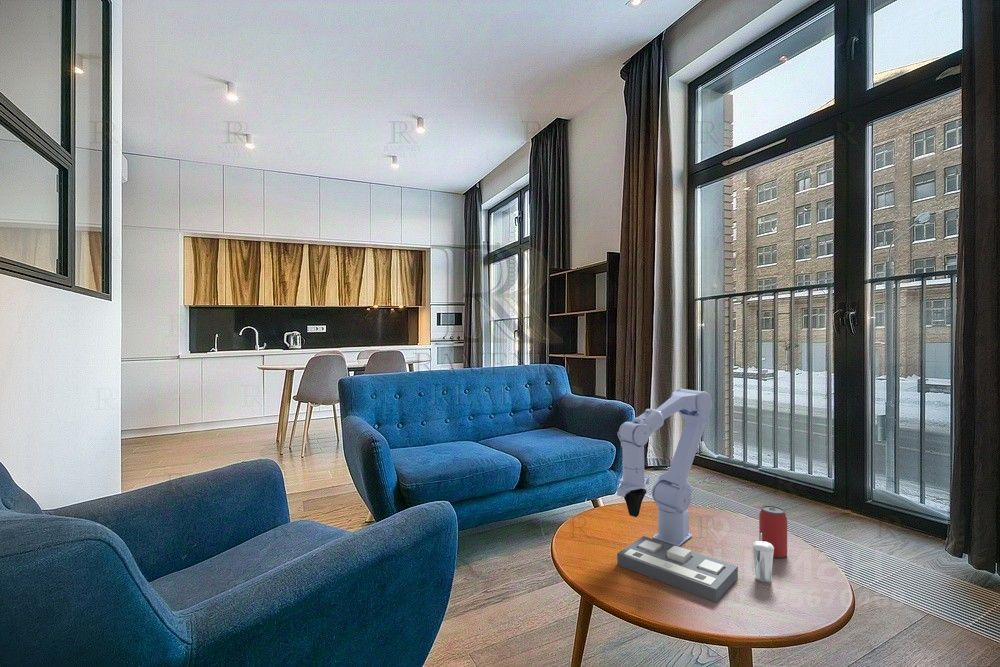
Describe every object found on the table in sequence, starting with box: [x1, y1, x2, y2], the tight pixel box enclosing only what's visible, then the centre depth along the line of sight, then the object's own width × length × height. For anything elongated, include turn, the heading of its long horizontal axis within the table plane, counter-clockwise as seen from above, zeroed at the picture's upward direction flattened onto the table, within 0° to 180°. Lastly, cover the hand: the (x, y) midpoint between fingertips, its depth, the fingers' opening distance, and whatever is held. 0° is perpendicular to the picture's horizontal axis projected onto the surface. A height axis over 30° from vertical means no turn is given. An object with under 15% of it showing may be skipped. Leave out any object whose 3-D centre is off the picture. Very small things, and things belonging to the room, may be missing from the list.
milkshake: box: [752, 533, 774, 584], centre depth 118 cm, size 4×5×10 cm
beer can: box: [758, 504, 788, 559], centre depth 131 cm, size 7×7×12 cm
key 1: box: [638, 540, 662, 554], centre depth 129 cm, size 4×4×3 cm
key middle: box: [667, 545, 692, 564], centre depth 123 cm, size 4×4×3 cm
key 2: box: [698, 559, 724, 575], centre depth 118 cm, size 4×4×3 cm
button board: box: [616, 535, 739, 603], centre depth 122 cm, size 14×25×3 cm, turn 46°
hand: (633, 515), depth 133 cm, fingers closed
